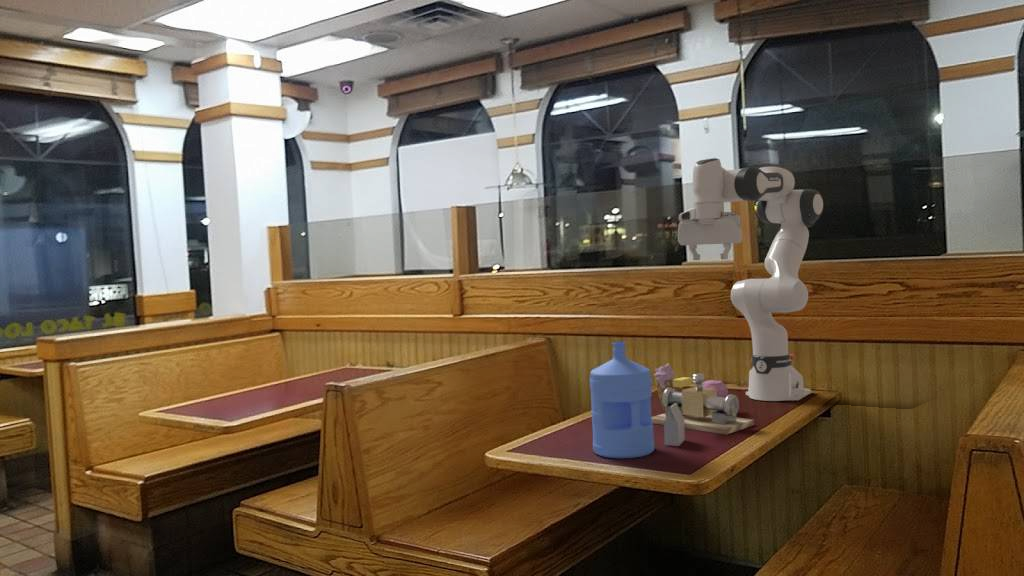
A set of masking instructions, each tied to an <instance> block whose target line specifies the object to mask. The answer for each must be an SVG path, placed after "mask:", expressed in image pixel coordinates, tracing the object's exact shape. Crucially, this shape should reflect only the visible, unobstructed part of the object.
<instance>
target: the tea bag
mask: <svg viewBox="0 0 1024 576" xmlns="http://www.w3.org/2000/svg"><path fill="white" fill-rule="evenodd" d="M663 432H664V433H663V434H664V435H663V437H664V446H666V447H667V446H671V447H679V446H681V444H683V442H684V441H685V440H686V437H685V436H686V435H685V433H686V432H685V428H684V417H683V415H682V414H681V412H680V410H679V407H678V405H677V403H675V404H673V405H672V406H671V407H670V408H669V411H668V415H667V417H666V419H665V421H664V425H663Z"/></svg>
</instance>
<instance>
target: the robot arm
mask: <svg viewBox="0 0 1024 576" xmlns="http://www.w3.org/2000/svg"><path fill="white" fill-rule="evenodd" d="M795 184H796V181H795V176H794V175H793V173H792V172H791V171H790V170H788V169H786V168H784V167H779V166H761V167H757V166H753V165H752V166H749V167H744V168H738V169H736V168H735V169H728V170H727V169H726V168H724V167H722V163H721V160H720V159H719V158H715V157H713V158H706V159H701V160H698V161H696V162H695V163H694V165H693V170H692V191H693V196H694V197H693V198H694V199H693V206H692V208H690V209H688V210H686V211H684V212H681V213H680V214H678V220H679V221H680V222H679V223H678V226H677V227H678V228H677V242H678V244H679V245H680V246H688V250H689V251H690V253H691V254H692V260H693V261H700V260H701V254H700V253H698V252H697V250H696V249H698V245H720V244H721V245H723V248H724V249H723V252H722V253H720V260H728V259H729V252H730V251H731V250H732V249H731V248H732V244H740V243H742V241H743V238H744V237H743V230H742V224H741V223H742V217H741V215H740V214H739V213H737V212H736V211H725V203H733V202H735V203H736V202H753V201H754V202H756V201H757V203H756V214H757V216H758V218H759V220H760V222H762V223H765V224H770V225H771V224H772V225H775V224H780V228H779V230H778V232H777V233H776V234H775V236H774V238H773V240H772V243H771V245H770V247H769V250H768V252H767V254H766V257H765V258H764V268H765V270H766V272H767V273H768V274H769V275H770V277H769V278H747V279H742V280H738V281H736V282H735V283H734V284H733V286H732V288H731V290H730V300H731V303H732V305H733V307H734V308H735V309H737V310H738V311H739V312H740V313H741V314H742V315H743V317H744V318H745V320H746V321H747V324H748V326H749V329H750V334H751V344H752V354H751V359H750V360H751V366H752V368H751V369H750V370H749V374H748V391H745V395H746V396H748V397H749V398H750V399H753V400H756V401H766V402H781V401H784V402H785V401H800V400H802V399H803V398H805V397H806V396H808V395H810V394H811V393H812V389H808V388H805V387H804V377H803V375H802V374H801V373H800V372H799V371H798V370H797V369H796V368H795V367H793V366H792V361H794V360H795V358H796V355H795V353H789V339H788V337H789V336H788V331H787V330H786V328H785V327H784V326H783V325H781V324H780V323H779V322H777V321H776V320H775V319H774V317H773V314H772V313H783V314H784V313H787V314H788V313H792V312H798V311H802V310H803V309H804V308H805V306H807V303H808V300H809V290H808V288H807V286H806V284H805V283H804V282H803V281H802V280H801V279H800V278H799V270H800V267H801V265H802V261H803V259H804V256H805V255H806V251H807V248H808V243H809V237H810V231H809V229H808V228H810V227H813V226H814V225H815V223H816V221H818V220H819V218H820V217H821V215H822V214H823V211H824V204H825V203H824V199H823V196H822V195H821V193H820V192H819V191H818V190H816V189H810V188H805V189H794V188H795Z"/></svg>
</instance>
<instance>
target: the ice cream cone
mask: <svg viewBox="0 0 1024 576" xmlns="http://www.w3.org/2000/svg"><path fill="white" fill-rule="evenodd" d="M654 371H655V373H654V374H653V377H654V380H655V386H656V390H657V393H658V396H659V400H660V404H661V406H662V410H663V412H665V406H664V405H663V402H662V395H663V392H664V390H665V389H666V388H674V387H673V379H675V378H674V375H675V374H674V373H675V371H674V370H673V369H672V367H671V364H670V363H668V362H667V364H665V365H664V366H660V367H656V368H655V369H654Z"/></svg>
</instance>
